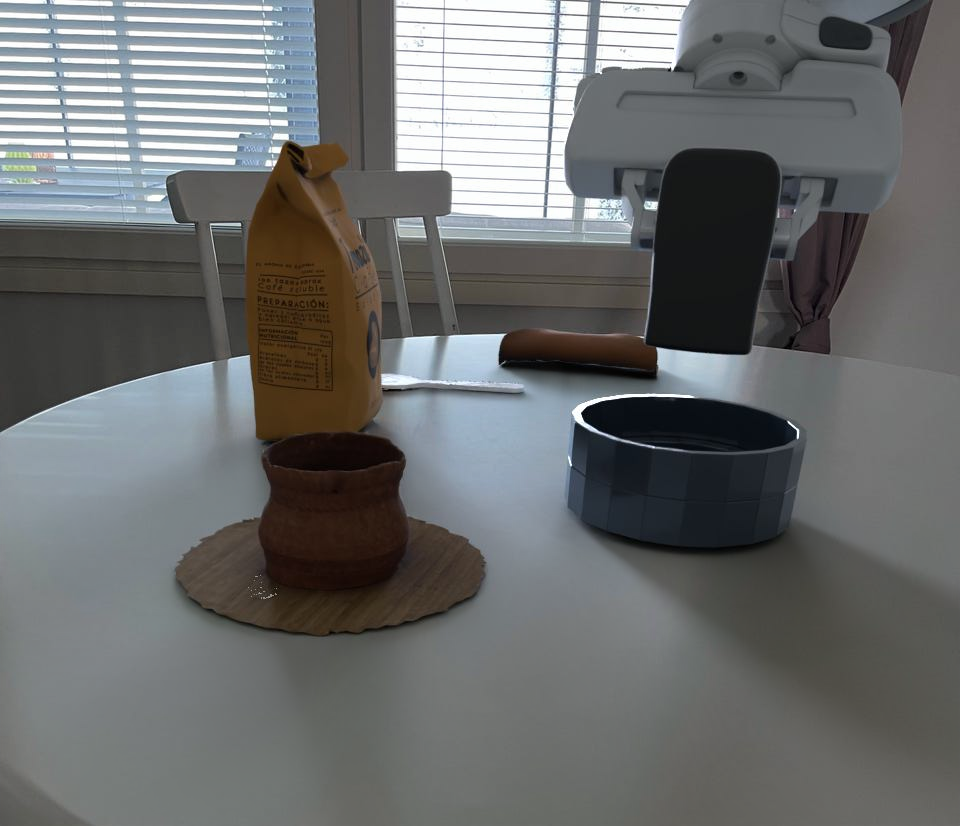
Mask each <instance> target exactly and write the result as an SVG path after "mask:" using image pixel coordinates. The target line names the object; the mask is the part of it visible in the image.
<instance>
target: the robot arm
mask: <svg viewBox="0 0 960 826" xmlns="http://www.w3.org/2000/svg"><path fill="white" fill-rule="evenodd" d="M929 2H931V0H686V6H685V8H684V10H683V13H682V14H681V18H680V21H679V24H678V29H677V34H676V40H675V46H674V49H673V50H674V51H673V56H672V61H671V66H669V67H651V66H650V67H636V68H623V67H622V66H606V67H603V68H602V69H601V71H600V72H598V73H594V74H591V75H589V76H586V77H583V78H581V79H580V80H579V81H578V83H577V86H576V87H575V91H574V96H573V100H572V104H571V111H572V118H571V121H570V124H569V127H568V129H567V132H566V136H565V139H564V144H563V151H562V155H563V156H562V161H563V175H564V182H565V185H566V186H567V188H568V190H570V192H571V193H572V194H573V196H574V197H576V198H580V199H596V200H615V201H616V200H617V201H621V211H622V213H623V215H624V217H625V219H626V220H627V222H628V224H629V226H630V228H631V229H630V245H629V246H630V248H629V249H630V251H634V252H635V251H637V252H653V240H654V230H655V221H656V213H657V210H650V209H649V210H648V209H646V207H645V203H646V202H649V203H650V202H651V203H652V202H653V203H658V198H659V192H660V185H661V180H662V176H663V172H664V169H665V167H666V164H667V163H668V161H669V160H670V158H671V157H672V156H673V155H674V154H675V153H677V152H678V151H680V150H682V149H684V148H689V147H724V148H744V149H756V150H762V151H765V152H768V153H770V154H771V155H772V156H773V157H774V158H775V159H776V160H777V161H778V163H779V166H780V169H781V174H782V184H781V194H780V201H779V208H778V210H779V209H780V210H793V213H792V214H791V216H789V217H777V221H776V227H775V233H774V238H773V243H772V248H771V253H770V258H769V260H773V261H787V262H790V261H791V262H793V261H794V259H795V255H796V251H797V247H798V242H799V239H800V238H801V237H802V236H803V235H804V234H805V233H806V232H807V231H808V230H809V229H810V228H811V227H812V226H813V225H814V224H815V222H817V219H818V216H819V212H833V213H848V214H849V213H852V214H863V215H865V214H866V215H869V214H873V213H875V212H876V211H877V210H879V209H880V208H881V207H882V206H883V205H885V204H886V203H887V202H888V201H889V199H890V197H891V195H892V192H893V189H894V187H895V185H896V181H897V178H898V175H899V171H900V168H901V164H902V159H903V158H902V156H903V140H904V135H903V134H904V133H903V132H904V131H903V130H904V128H903V111H902V101H901V94H900V91H899V87H898V85H897V83H896V81H895V79H894V78H893V77H892V76H891V75H890V74H889V73H888V72H887V70H888V64H889V58H890V52H891V44H892V37H891V34H890V33H889V32H888V30H886V29H884V27H886V26H889V25H892V24H894V23H896V22H897V21H900V20H902V19H904V18H905V17H907V16H909V15H911V14H913V13H914V12H916V11H918V10H919V9H921V8H923V7H924V6H925V5H927V4H929ZM761 153H762V152H761ZM770 157H771V156H770ZM775 162H776V161H775Z"/></svg>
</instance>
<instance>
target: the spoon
mask: <svg viewBox="0 0 960 826" xmlns="http://www.w3.org/2000/svg"><path fill="white" fill-rule="evenodd" d="M381 378H382V388H392V389H401V390H403V389H402V388H412V389H416V388H435V389H448V390H465V391H480V392H481V391H482V392H496V393H497V392H499V393H512V394H519V393H523V392H524V391H525V385H524V384H521V383H519V382H518V383H516V382H514V383H513V382H505V383H504V382H494V381H488V382H487V381H483V380H481V381H475V380H473V381H471V380H469V381H463V380H459V381H458V380H456V379H454V380H449V379H445V380H443V379H441V380H436V379H425V378H419V377H417V376H414V375H408V374H400V373H388V372H386V373H381Z"/></svg>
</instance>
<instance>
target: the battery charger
mask: <svg viewBox="0 0 960 826" xmlns="http://www.w3.org/2000/svg"><path fill="white" fill-rule="evenodd" d="M761 152H762V153H761ZM770 156H771V157H770ZM775 161H776V162H775ZM781 184H782V174H781V169H780V166H779V163H778V161H777V160H776V159H775V158H774V157H773V156H772V155H771V154H770V153H768V152H765V151H762V150H756V149H744V148H724V147H689V148H684V149H682V150H680V151H678V152H677V153H675V154H674V155H673V156H672V157H671V158H670V160H669V161H668V163H667V164H666V167H665V169H664V172H663V176H662V180H661V185H660V192H659V198H658V202H657V207H656V211H657V213H656V221H655V230H654V240H653V251H652V253H651V254H652V255H651V267H650V285H649V297H648V305H647V313H646V322H645V329H644V335H643V338H644V343H645V345H647V346H651V347H656V348H657V349H663V350H670V351H679V352H687V353H698V354H708V355H721V356H722V355H723V356H747V355H750V354H751V353H752V350H753V345H754V339H755V331H756V325H757V324H756V323H757V320H758V319H757V318H758V312H759V307H760V302H761V297H762V294H763V293H762V292H763V289H764V284H765V280H766V276H767V272H768V267H769V261H770V259H769V258H770V253H771V248H772V243H773V238H774V233H775V227H776V221H777V218H778V213H779V209H778V208H779V201H780V194H781Z"/></svg>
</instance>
